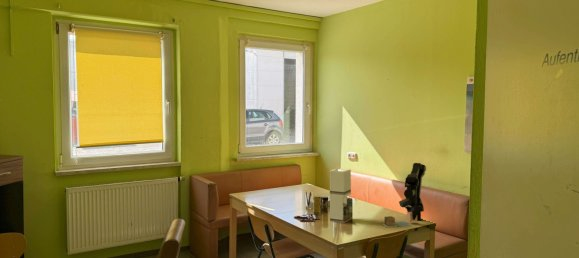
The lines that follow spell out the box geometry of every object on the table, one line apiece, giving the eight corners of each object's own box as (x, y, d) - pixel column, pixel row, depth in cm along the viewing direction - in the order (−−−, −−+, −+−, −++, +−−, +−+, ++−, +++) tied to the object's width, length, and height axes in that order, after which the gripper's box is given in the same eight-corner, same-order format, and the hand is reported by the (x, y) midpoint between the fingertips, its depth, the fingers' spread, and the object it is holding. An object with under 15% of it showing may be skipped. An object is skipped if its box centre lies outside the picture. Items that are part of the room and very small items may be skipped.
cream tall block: (344, 223, 290) (343, 171, 288) (330, 221, 295) (329, 170, 293) (351, 219, 299) (350, 169, 298) (337, 217, 305) (336, 168, 303)
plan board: (379, 224, 285) (379, 223, 285) (403, 222, 288) (403, 221, 288) (386, 229, 274) (386, 227, 274) (411, 227, 277) (411, 225, 277)
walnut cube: (384, 224, 282) (384, 216, 282) (391, 223, 283) (391, 216, 283) (387, 226, 277) (387, 218, 277) (394, 225, 278) (394, 218, 278)
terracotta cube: (406, 219, 286) (406, 212, 285) (413, 219, 287) (413, 211, 286) (410, 221, 281) (410, 213, 281) (417, 221, 282) (417, 213, 282)
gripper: (394, 193, 290) (394, 215, 291) (407, 198, 272) (407, 223, 273) (409, 192, 293) (409, 214, 293) (423, 197, 274) (423, 222, 275)
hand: (411, 218), depth 284 cm, fingers closed on terracotta cube, 5 cm apart
